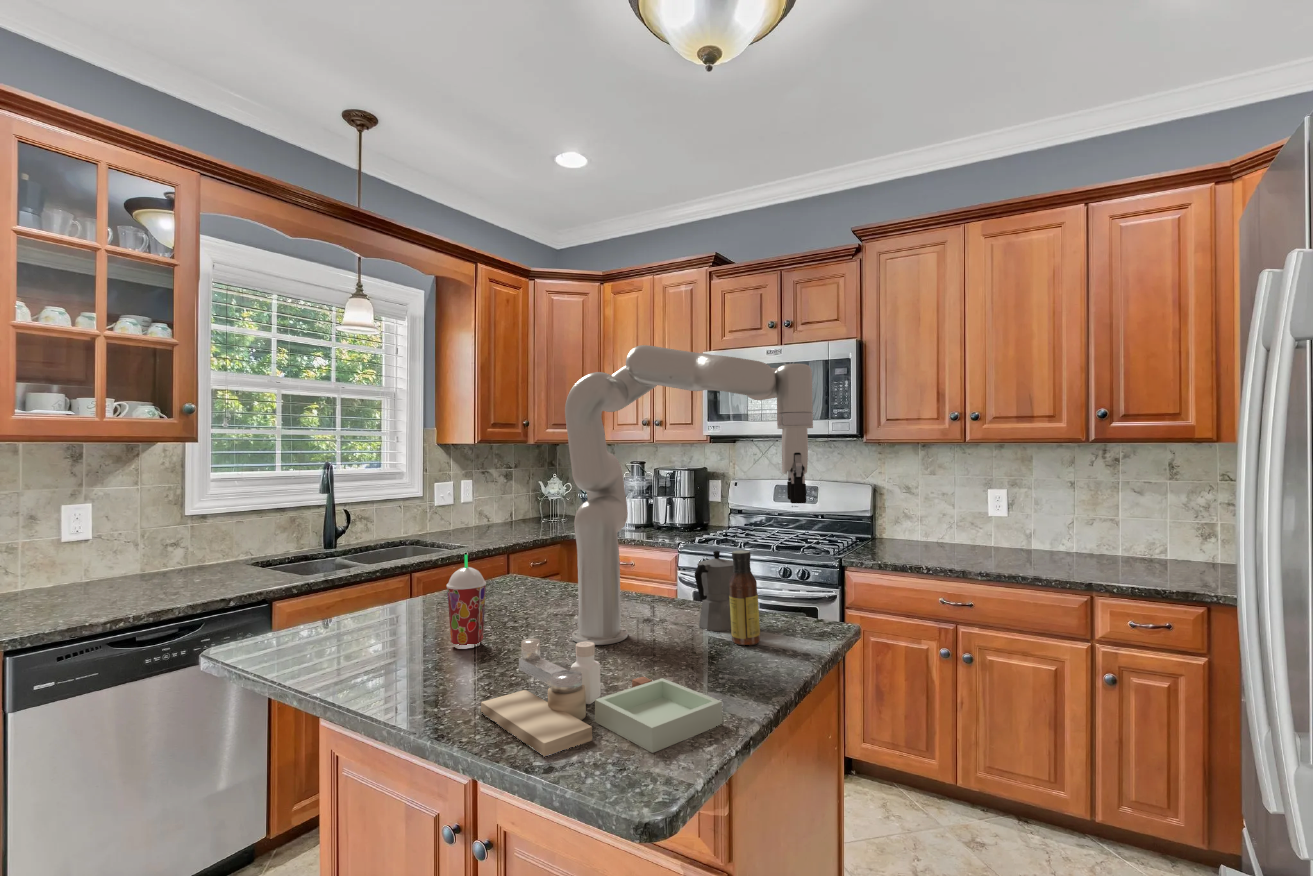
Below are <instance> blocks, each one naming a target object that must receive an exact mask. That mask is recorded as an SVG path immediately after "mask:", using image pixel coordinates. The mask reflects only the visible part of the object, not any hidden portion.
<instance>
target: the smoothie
mask: <svg viewBox="0 0 1313 876" xmlns="http://www.w3.org/2000/svg"><path fill="white" fill-rule="evenodd" d="M468 557H469V555H468V554H464V567H460V568H459V569H457V570H456V571H454V572H453V574H451V576H450V578H449V580H448V583H447V584H446V591H447V592H446V593H447V604H448V605H447V606H448V616H449V617H448V618H449V620H448V621H449V631H450V643H451V644H452V645H453V644H459V645H467V644H477V643H479V642H481V643H482V641H483V640H484V628H485V627H484V626H485V605H486V584H487V582H486V580H485V579H484V577H483V575H482V573H481V572H480V571H479V570H478V569H476V568H474V567H472V566H469V565H468V564H469V562H468Z"/></svg>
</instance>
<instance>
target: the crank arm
mask: <svg viewBox="0 0 1313 876" xmlns="http://www.w3.org/2000/svg"><path fill="white" fill-rule="evenodd" d="M520 647H521V648H520V649H521V654H520V655H521V657H519V658H518V670H519V671H520V672H522V673H524V674H527V675H528V676H531V677H533V678H534V679H536V680H538V681H540V682H542V683H545V684H546V685H548V686H549V687H551V691H553V692H555V693H561V694H567V693H573V692H577V691H579V690H581V689H582V673H581V672H579V671H576V670H571V669H566V668H565V667H562V666H560V665H558V664H556V663H554V662H552V661H550V660H547V659H545V658H542V657H541V640H540V639H539V638H534V637H533V638H526V639H525V638H524V639H522V640H521V643H520Z"/></svg>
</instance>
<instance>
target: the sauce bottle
mask: <svg viewBox="0 0 1313 876" xmlns="http://www.w3.org/2000/svg"><path fill="white" fill-rule="evenodd" d="M731 558H732V561H733V574H732V576H731V578H730V580H729V591H730V594H729V599H730V617H731V630H730V631H731V634H730V635H731V639H732V642H733V643H734V644H735V645H737V644H738V646H745V645H749V646H755V645H757V644H759V643H760V641H761V638H760V637H761V636H760V635H761V627H760V607H759V593H758V583H757V579H756V578H755V577H754V574H753V573H752V571H751V570H752V569H751V551H750V550H743V549H742V550H740V549H739V550H733V551H732V552H731Z"/></svg>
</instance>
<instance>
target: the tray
mask: <svg viewBox="0 0 1313 876" xmlns="http://www.w3.org/2000/svg"><path fill="white" fill-rule="evenodd" d="M594 722H595V723H596V724H598V725H600V726H602V727H603V728H606V729H607V730H609V731H611V732H612V733H614V734H616V735H618V736H620V737H622V738H624V739H625V740H628V741H629V742H632V743H633V744H635V745H637V746H638V747H641V748H642V749H644V750H646V751H647V752H650V753H651V754H654V753H656V752H658V751H661V750H664V749H666V748H668V747H671V746H674V745H675V744H677V743H680V742H682V741H685V740H687V739H691V738H693V737H695V736H697V735H700V734H701V733H704V732H707V731H710V730H712V729H715V728H717V727H719V726H718V725H720V724H722V725H723V701H721V700H719V699H716V698H714V697H711V696H709V695H706V694H704V693H701V692H699V691H696V690H694V689H691V688H689V687H686V686H683V685H682V684H678V683H676V682H674V681H671V680H669V679H667V678H663V677H662V678H661V677H660V678H659V679H656V680H652V682H649V683H645V684H642V685H639V686H636V687H633V688H632V687H630V688H627V689H624V690H620V691H618V692H614V693H611V694H608V695H604V696H602V697H601V696H600V697H599V698H598V699H595V701H594ZM716 726H717V727H716ZM720 726H721V725H720ZM709 729H710V730H709Z"/></svg>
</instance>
